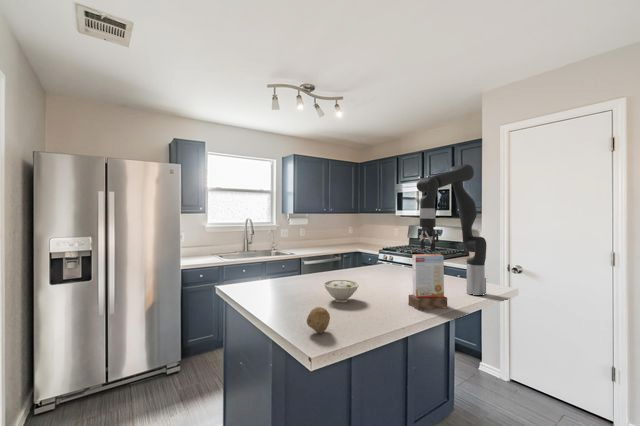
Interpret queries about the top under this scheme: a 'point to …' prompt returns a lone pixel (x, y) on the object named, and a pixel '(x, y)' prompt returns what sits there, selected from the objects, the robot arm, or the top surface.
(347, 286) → the bowl
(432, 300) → the block
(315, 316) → the brown round lump
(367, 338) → the top surface
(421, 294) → the cracker box
